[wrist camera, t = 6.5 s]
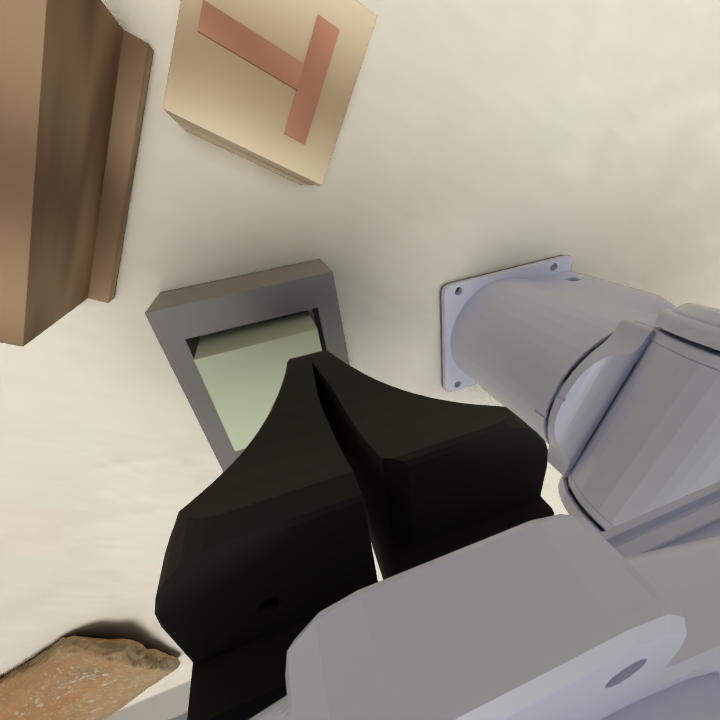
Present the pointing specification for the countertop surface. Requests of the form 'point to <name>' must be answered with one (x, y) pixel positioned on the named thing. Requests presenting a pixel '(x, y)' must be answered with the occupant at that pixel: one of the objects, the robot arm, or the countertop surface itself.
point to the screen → (64, 156)
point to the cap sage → (252, 369)
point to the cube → (268, 77)
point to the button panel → (235, 309)
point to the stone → (82, 679)
